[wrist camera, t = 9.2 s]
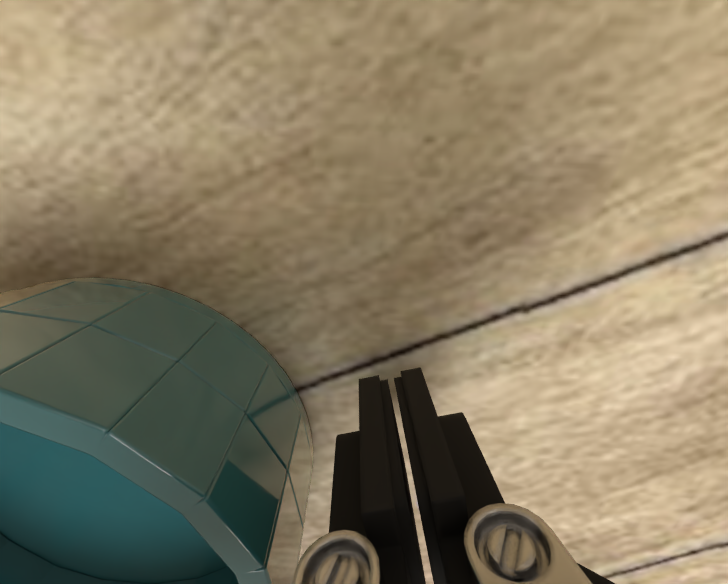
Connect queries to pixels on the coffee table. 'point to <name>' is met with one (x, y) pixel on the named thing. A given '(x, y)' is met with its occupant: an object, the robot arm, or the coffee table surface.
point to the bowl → (144, 441)
